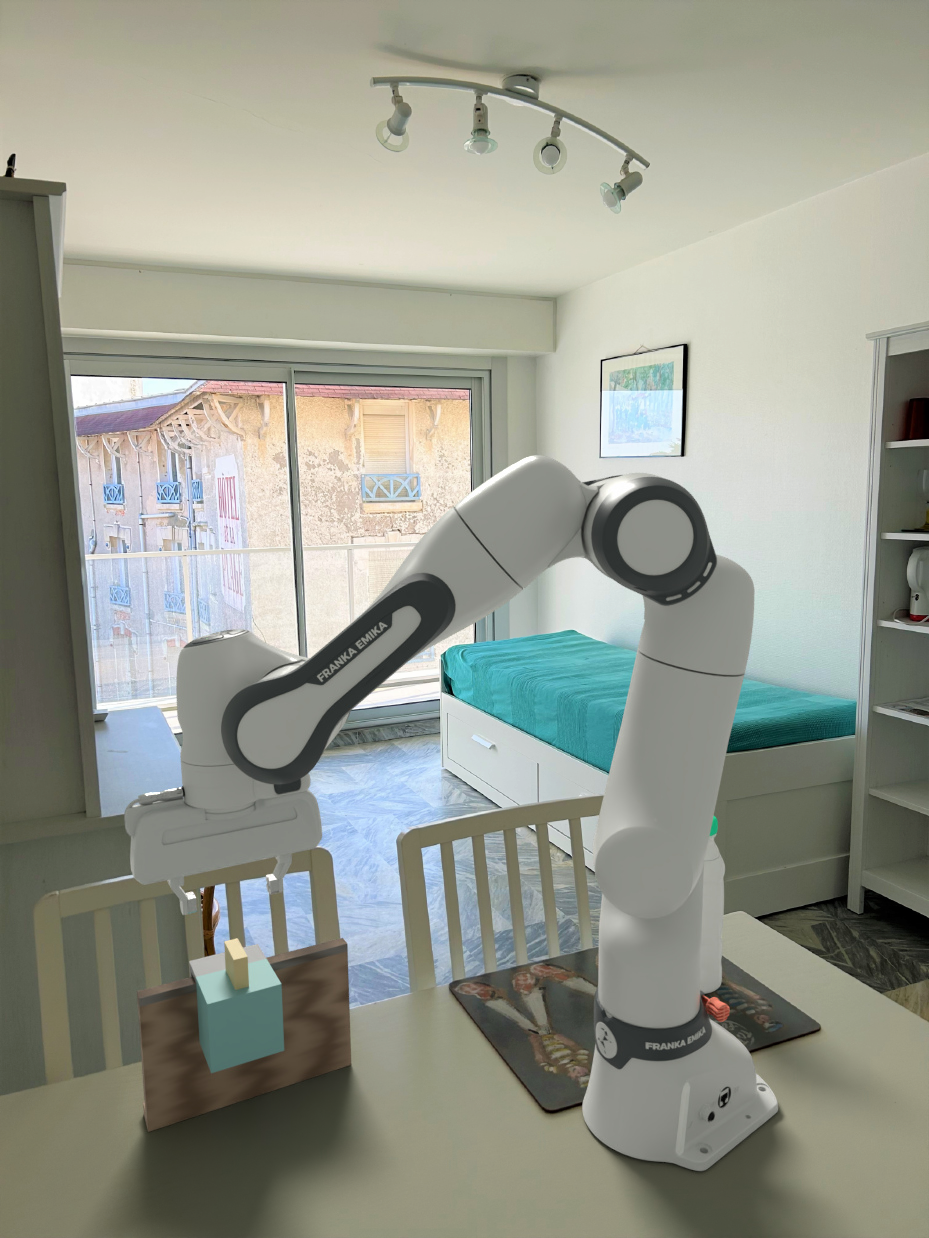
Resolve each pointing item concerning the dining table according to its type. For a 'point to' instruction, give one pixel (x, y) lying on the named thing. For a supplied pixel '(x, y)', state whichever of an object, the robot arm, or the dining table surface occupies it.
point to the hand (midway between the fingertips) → (232, 901)
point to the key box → (237, 1006)
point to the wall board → (310, 1050)
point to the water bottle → (712, 915)
